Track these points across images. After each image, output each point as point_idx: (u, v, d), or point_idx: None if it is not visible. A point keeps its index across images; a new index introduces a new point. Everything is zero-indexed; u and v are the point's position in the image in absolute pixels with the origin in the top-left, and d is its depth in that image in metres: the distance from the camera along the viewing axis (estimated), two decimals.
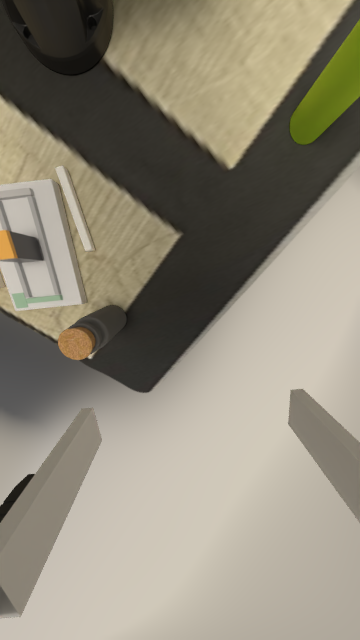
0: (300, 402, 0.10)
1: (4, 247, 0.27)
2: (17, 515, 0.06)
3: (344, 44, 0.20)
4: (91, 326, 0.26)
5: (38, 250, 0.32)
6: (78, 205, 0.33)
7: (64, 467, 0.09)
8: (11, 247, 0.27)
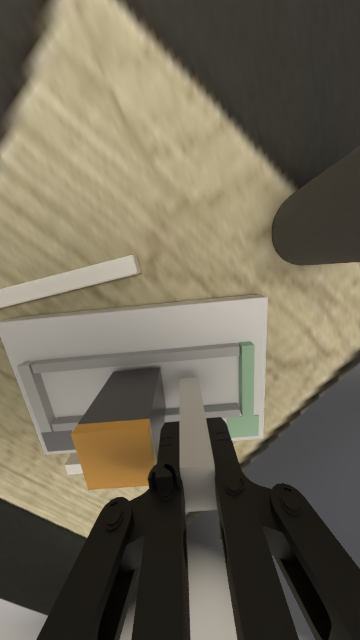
0: (189, 387, 0.13)
1: (119, 446, 0.09)
2: (188, 440, 0.09)
3: None
4: None
5: (138, 372, 0.14)
6: None
7: None
8: (118, 429, 0.09)
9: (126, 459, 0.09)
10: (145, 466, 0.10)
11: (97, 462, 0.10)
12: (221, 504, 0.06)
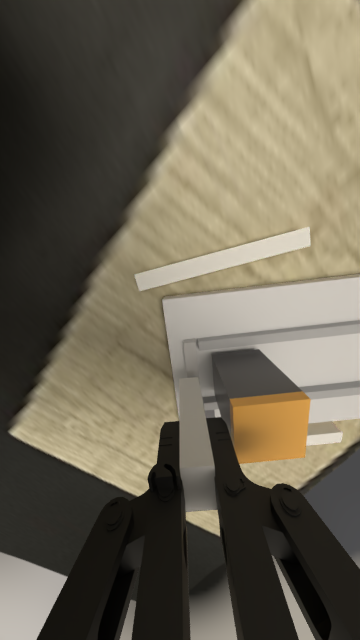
0: (189, 387, 0.13)
1: (278, 418, 0.09)
2: (188, 440, 0.09)
3: None
4: None
5: (240, 353, 0.14)
6: None
7: None
8: (279, 401, 0.09)
9: (281, 431, 0.10)
10: (297, 438, 0.10)
11: (251, 435, 0.10)
12: (221, 504, 0.06)
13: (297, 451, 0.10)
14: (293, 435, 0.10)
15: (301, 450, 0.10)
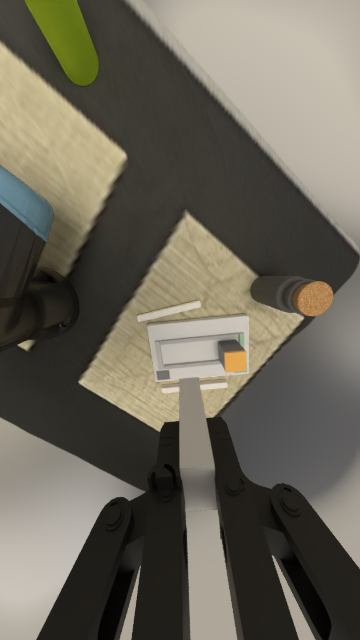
0: (189, 387, 0.13)
1: (237, 357, 0.33)
2: (188, 440, 0.09)
3: None
4: (293, 286, 0.25)
5: (228, 341, 0.38)
6: (163, 308, 0.39)
7: None
8: (237, 352, 0.33)
9: (238, 361, 0.33)
10: (243, 364, 0.33)
11: (230, 362, 0.33)
12: (221, 504, 0.06)
13: (244, 368, 0.34)
14: (242, 362, 0.33)
15: (245, 368, 0.33)
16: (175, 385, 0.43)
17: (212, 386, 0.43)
